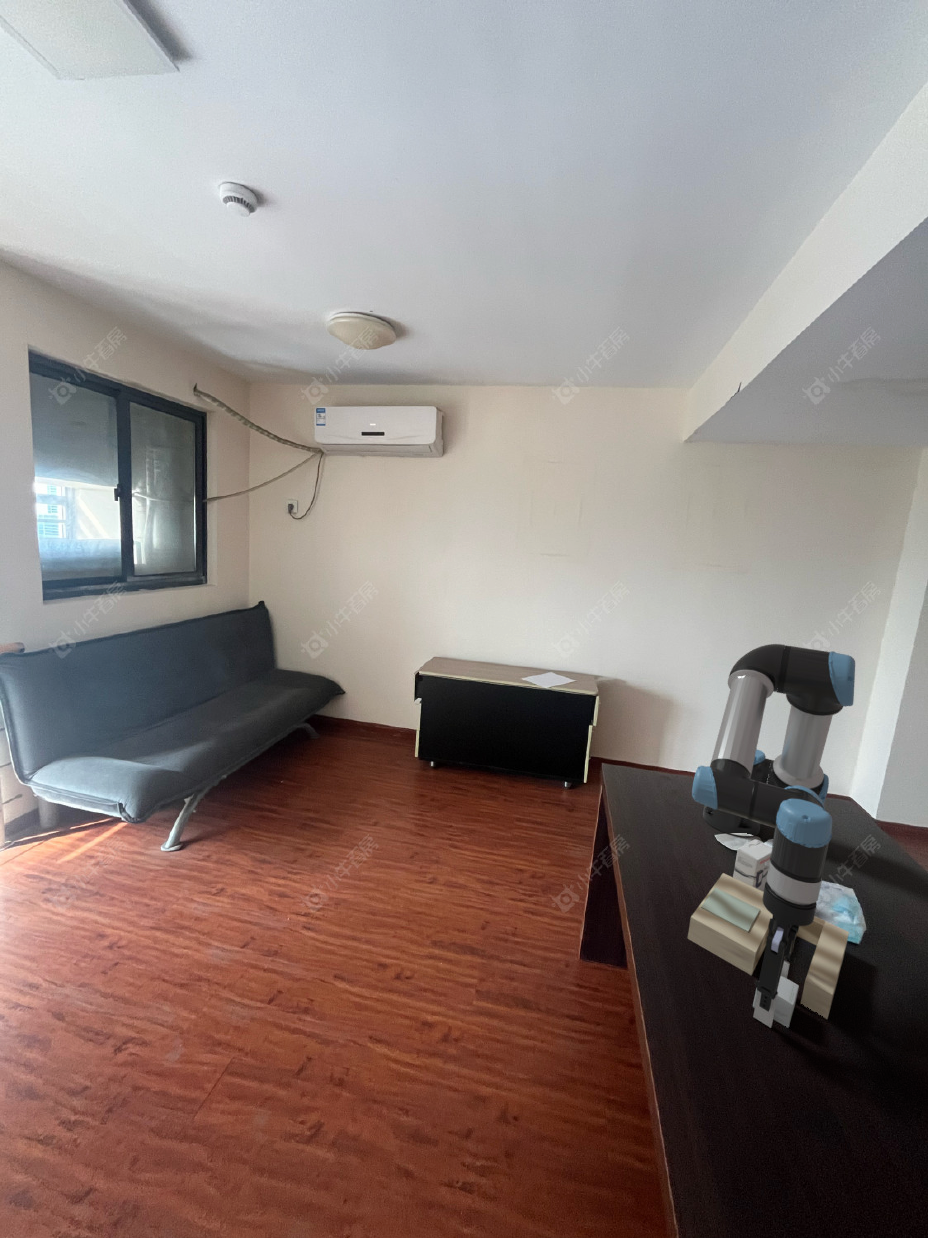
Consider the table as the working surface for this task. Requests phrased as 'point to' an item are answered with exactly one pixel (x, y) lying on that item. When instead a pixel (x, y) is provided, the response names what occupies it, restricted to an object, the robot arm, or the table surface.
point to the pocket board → (765, 938)
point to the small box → (784, 1001)
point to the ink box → (752, 864)
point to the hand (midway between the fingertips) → (768, 1005)
